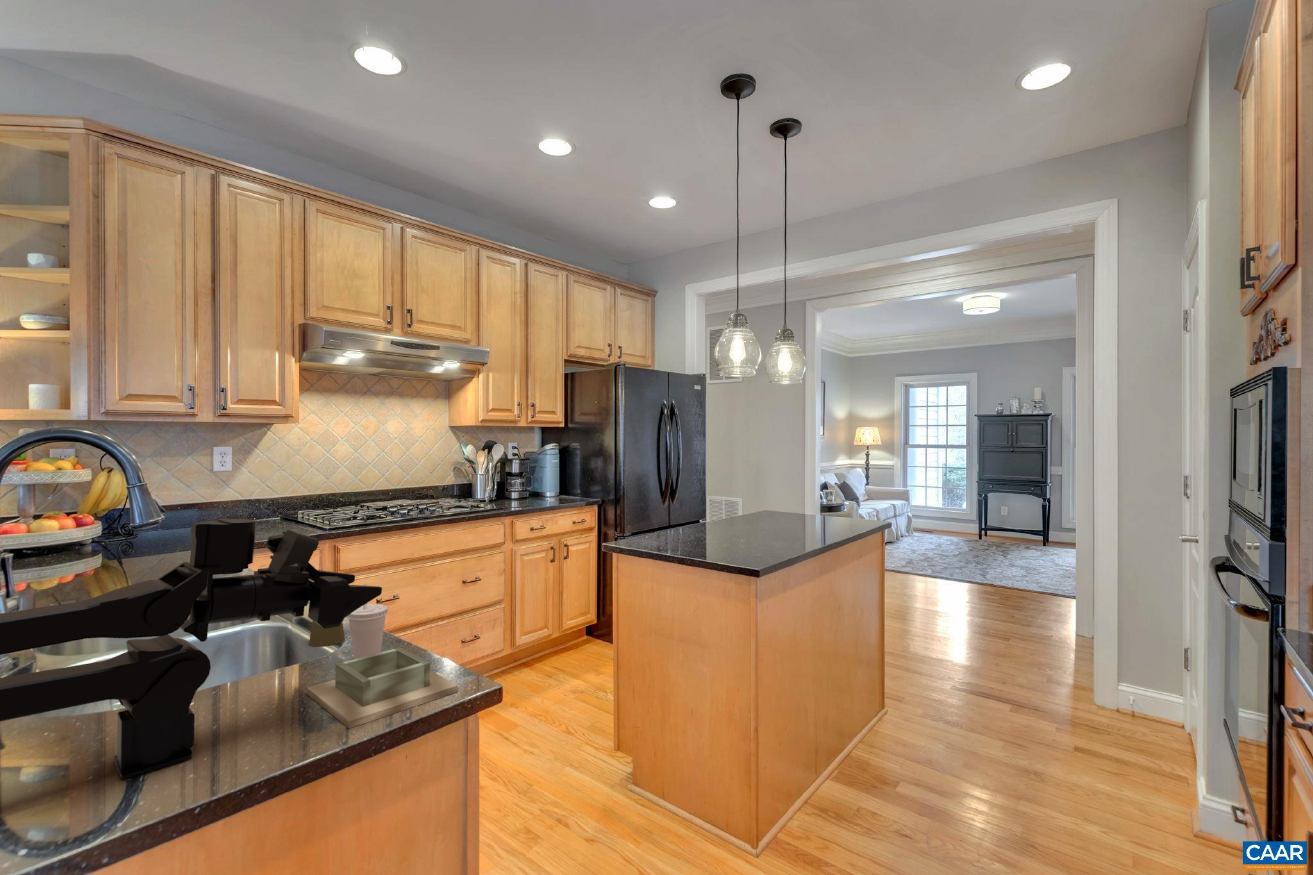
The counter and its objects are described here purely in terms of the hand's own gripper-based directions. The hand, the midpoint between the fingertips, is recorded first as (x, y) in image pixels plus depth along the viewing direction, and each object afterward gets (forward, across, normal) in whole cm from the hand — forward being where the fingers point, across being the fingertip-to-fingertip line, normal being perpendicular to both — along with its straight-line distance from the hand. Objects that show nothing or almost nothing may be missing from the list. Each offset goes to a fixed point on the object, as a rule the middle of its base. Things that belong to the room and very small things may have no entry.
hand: (367, 584), depth 92 cm
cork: (+6, +28, +18) cm, 34 cm away
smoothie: (+6, +10, +17) cm, 21 cm away
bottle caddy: (+3, -3, +16) cm, 17 cm away
